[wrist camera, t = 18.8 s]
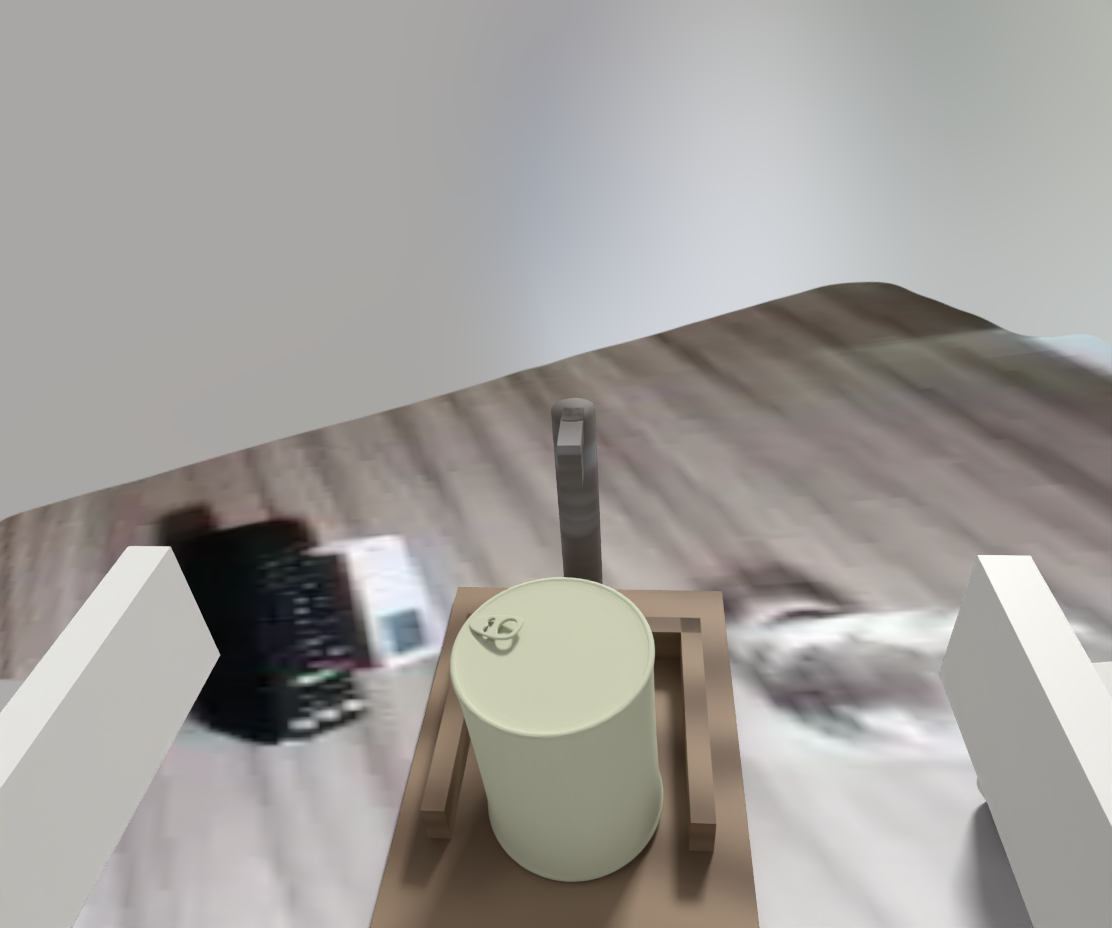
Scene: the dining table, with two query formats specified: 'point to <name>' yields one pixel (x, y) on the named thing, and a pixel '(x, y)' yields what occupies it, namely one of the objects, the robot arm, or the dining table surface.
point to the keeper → (683, 757)
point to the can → (563, 724)
